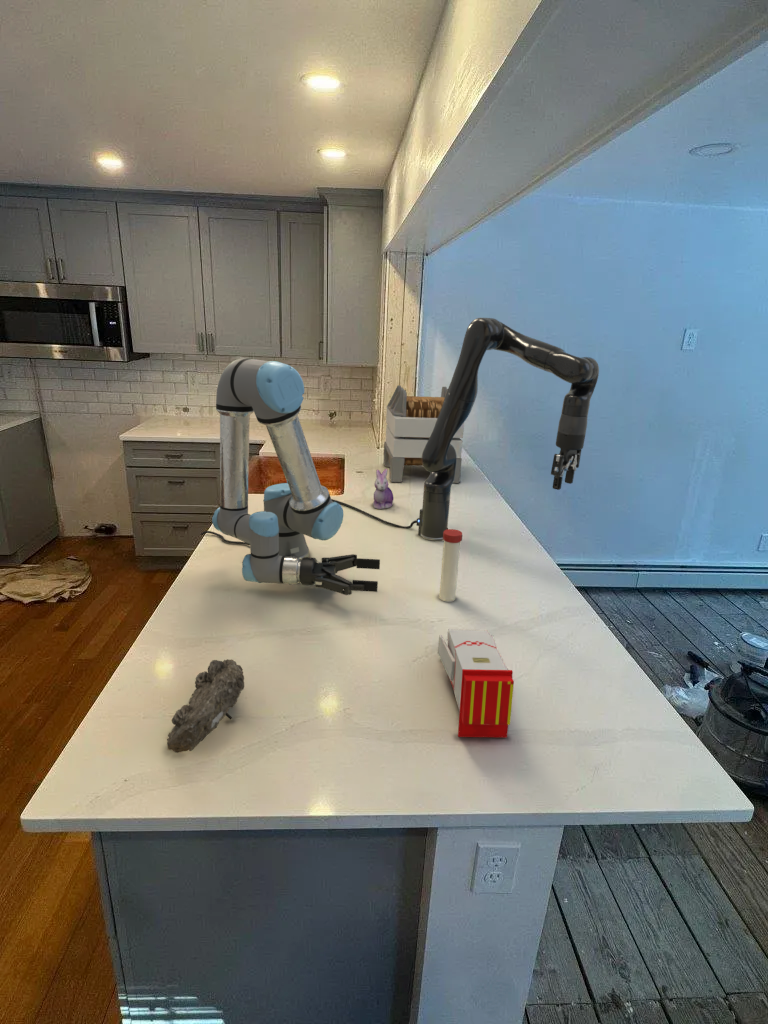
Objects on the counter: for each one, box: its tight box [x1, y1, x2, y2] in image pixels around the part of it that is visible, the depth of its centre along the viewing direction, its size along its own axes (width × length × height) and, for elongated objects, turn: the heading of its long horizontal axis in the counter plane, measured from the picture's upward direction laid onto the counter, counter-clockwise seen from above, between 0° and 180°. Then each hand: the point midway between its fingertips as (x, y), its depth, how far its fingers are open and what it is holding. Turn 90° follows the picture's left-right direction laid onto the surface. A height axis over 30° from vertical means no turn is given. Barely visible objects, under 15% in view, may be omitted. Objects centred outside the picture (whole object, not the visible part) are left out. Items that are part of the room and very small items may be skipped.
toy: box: [437, 628, 515, 738], centre depth 117 cm, size 12×13×30 cm
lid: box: [442, 528, 463, 543], centre depth 151 cm, size 5×5×2 cm
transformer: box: [383, 384, 465, 484], centre depth 268 cm, size 34×33×41 cm
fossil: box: [166, 658, 245, 754], centre depth 106 cm, size 22×10×15 cm
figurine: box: [372, 468, 394, 510], centre depth 225 cm, size 9×10×15 cm
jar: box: [438, 540, 462, 603], centre depth 154 cm, size 4×4×19 cm
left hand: (378, 575), depth 154 cm, fingers open, 13 cm apart
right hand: (562, 485), depth 164 cm, fingers open, 8 cm apart
